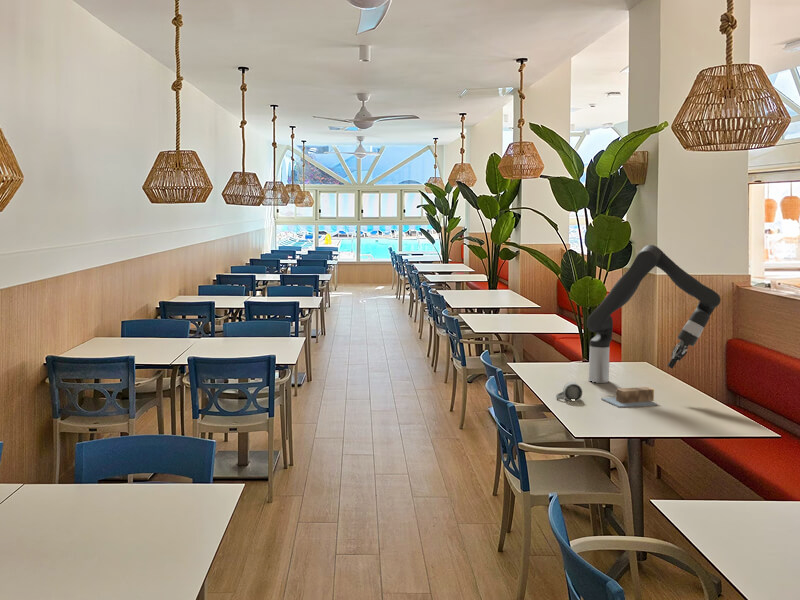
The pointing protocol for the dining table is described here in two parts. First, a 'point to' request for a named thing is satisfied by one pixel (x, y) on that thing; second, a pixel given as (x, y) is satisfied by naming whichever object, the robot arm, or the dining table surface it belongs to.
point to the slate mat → (633, 404)
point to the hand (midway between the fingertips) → (669, 367)
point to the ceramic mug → (570, 392)
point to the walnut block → (634, 394)
